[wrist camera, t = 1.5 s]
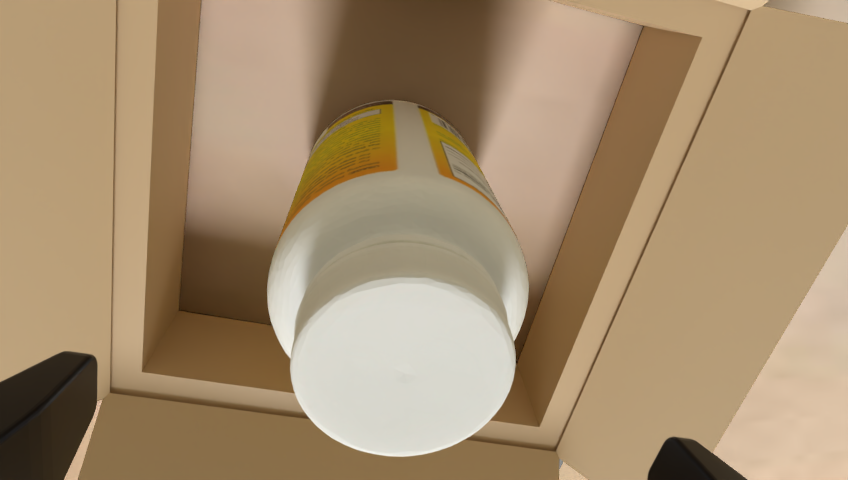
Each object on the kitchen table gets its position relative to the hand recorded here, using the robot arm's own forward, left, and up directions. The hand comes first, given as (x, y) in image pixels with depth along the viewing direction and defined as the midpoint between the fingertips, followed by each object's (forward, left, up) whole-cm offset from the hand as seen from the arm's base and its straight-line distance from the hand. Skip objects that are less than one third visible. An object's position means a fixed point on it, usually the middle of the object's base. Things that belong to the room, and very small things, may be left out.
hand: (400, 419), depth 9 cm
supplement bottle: (0, 0, -12) cm, 12 cm away
